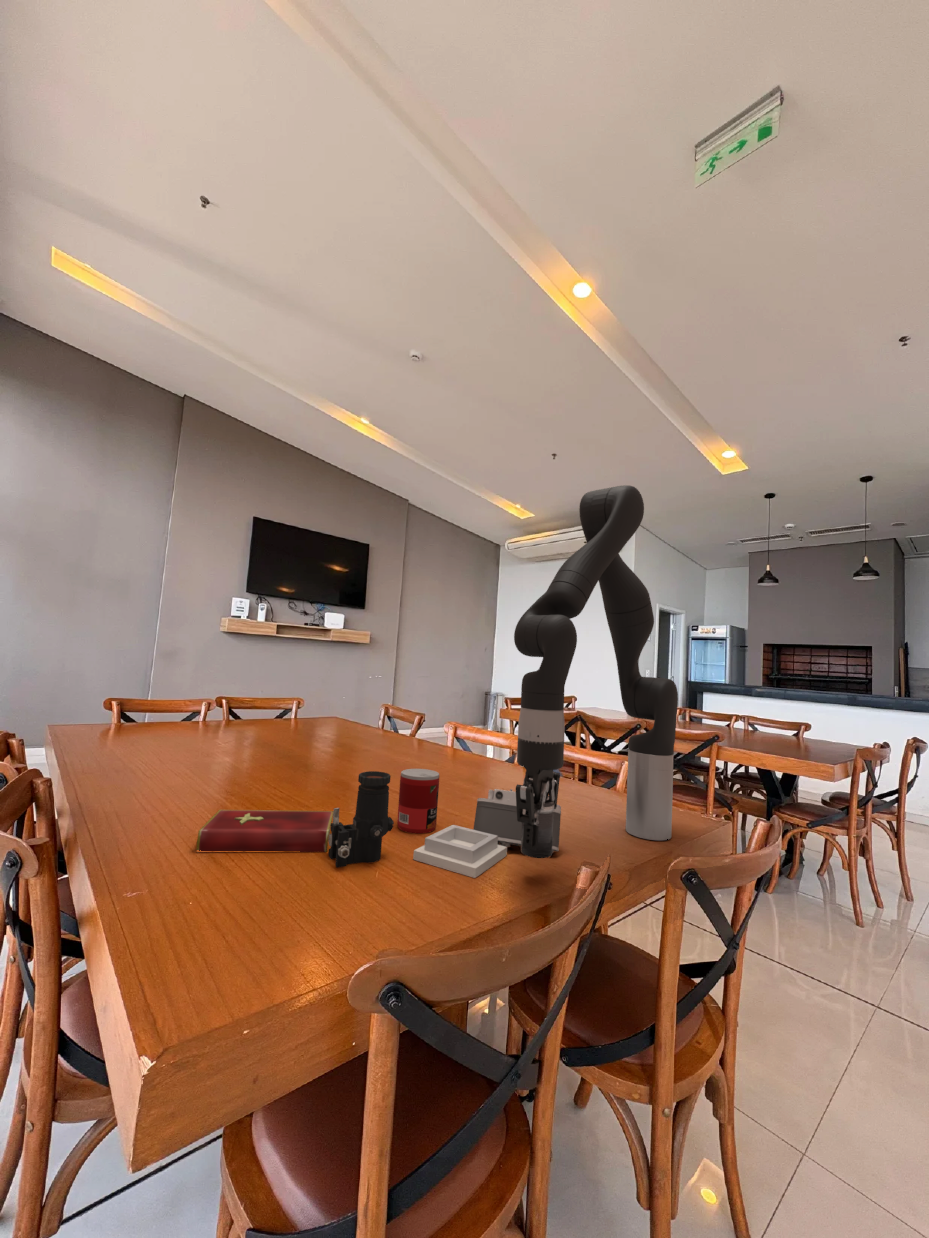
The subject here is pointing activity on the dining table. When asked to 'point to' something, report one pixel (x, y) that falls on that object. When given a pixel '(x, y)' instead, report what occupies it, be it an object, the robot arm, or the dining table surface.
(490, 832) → the camera
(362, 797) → the scope
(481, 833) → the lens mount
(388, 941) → the dining table surface
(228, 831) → the hardcover book
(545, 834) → the lens
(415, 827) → the canned food
